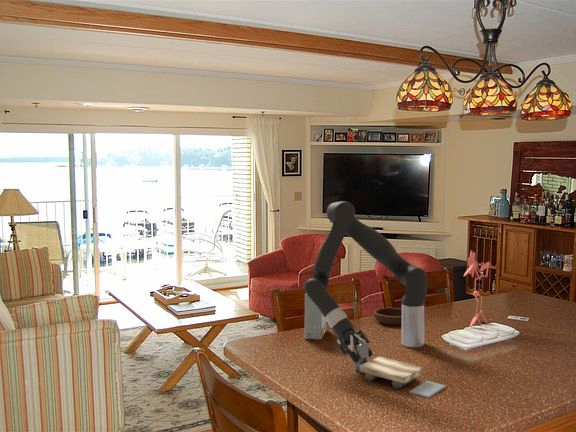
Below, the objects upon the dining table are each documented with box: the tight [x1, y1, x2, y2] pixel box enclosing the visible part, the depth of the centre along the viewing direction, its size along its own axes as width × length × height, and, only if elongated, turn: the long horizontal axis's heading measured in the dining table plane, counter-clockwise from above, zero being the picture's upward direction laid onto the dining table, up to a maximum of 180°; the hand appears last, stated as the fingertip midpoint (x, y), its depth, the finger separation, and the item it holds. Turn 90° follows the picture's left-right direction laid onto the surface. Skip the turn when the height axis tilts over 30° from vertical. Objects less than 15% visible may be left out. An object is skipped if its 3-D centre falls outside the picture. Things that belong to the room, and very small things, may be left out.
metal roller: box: [354, 341, 370, 374], centre depth 215 cm, size 5×5×10 cm
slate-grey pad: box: [409, 380, 447, 399], centre depth 197 cm, size 12×7×1 cm, turn 138°
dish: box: [373, 307, 402, 326], centre depth 280 cm, size 18×22×5 cm
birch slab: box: [359, 356, 424, 390], centre depth 205 cm, size 13×18×5 cm
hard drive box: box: [304, 292, 327, 341], centre depth 260 cm, size 16×8×20 cm, turn 168°
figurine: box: [455, 250, 492, 329], centre depth 274 cm, size 15×26×35 cm, turn 148°
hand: (364, 358), depth 214 cm, fingers open, 8 cm apart
